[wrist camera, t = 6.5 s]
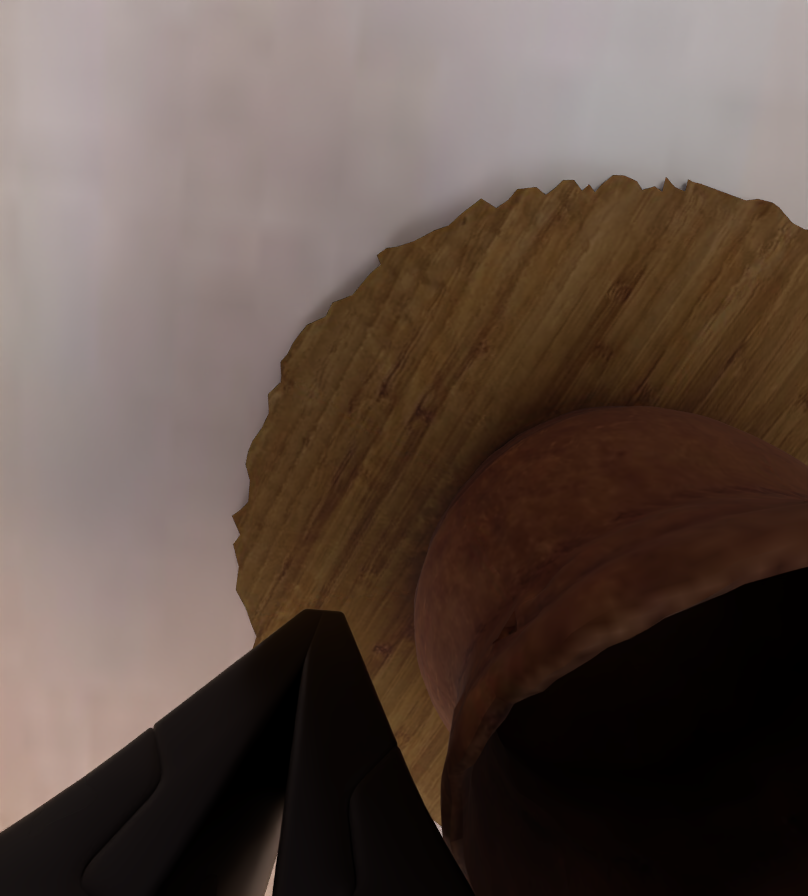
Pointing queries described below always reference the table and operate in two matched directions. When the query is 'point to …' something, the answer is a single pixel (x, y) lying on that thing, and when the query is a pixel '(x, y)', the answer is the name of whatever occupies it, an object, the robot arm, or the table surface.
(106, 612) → the table surface
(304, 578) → the ceramic pot
